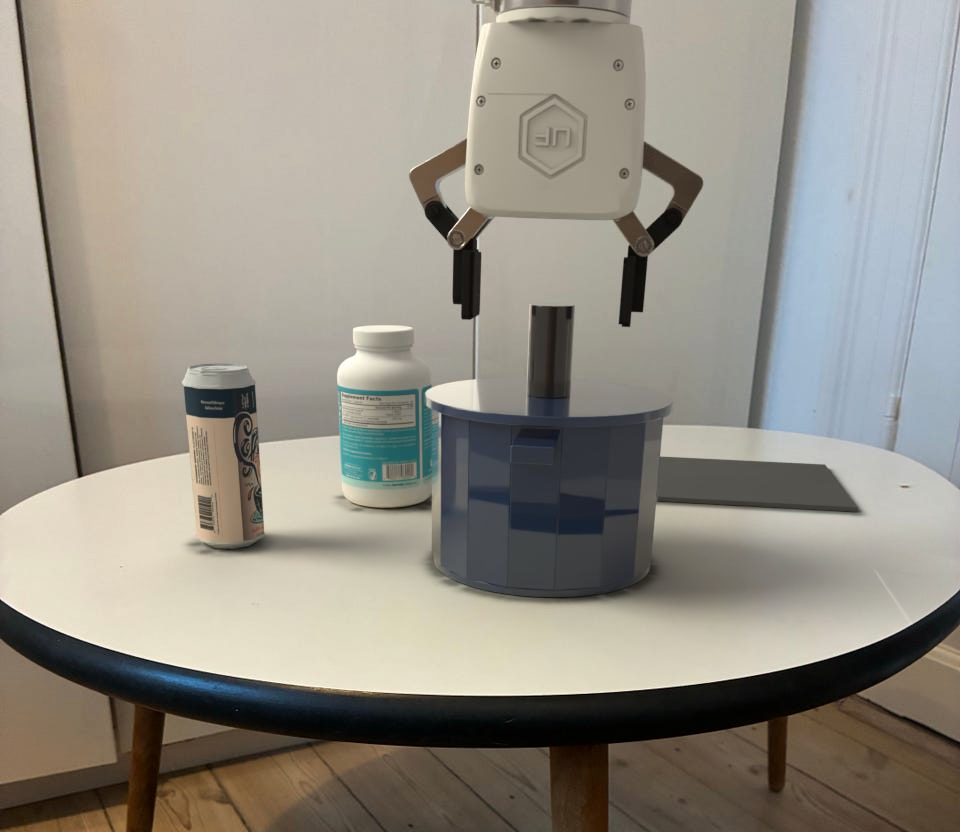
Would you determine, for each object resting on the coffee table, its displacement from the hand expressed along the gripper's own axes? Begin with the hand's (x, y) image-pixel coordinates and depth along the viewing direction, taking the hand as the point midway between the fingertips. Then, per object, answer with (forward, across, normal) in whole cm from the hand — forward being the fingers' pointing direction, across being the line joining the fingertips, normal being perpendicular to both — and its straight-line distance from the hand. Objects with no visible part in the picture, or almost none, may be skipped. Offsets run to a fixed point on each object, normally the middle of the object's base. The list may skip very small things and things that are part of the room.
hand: (546, 321), depth 64 cm
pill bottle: (+16, -14, +14) cm, 25 cm away
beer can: (+16, -22, 0) cm, 27 cm away
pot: (+16, 0, 0) cm, 16 cm away
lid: (+5, 0, 0) cm, 5 cm away
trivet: (+15, +16, +26) cm, 35 cm away
